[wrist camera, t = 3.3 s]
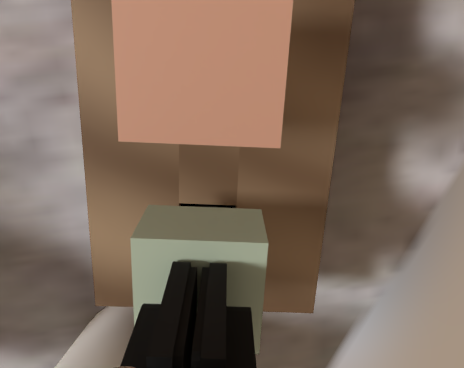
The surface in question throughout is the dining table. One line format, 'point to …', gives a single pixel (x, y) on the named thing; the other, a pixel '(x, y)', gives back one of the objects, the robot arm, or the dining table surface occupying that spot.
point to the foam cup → (101, 340)
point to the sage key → (201, 253)
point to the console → (217, 158)
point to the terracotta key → (201, 71)
